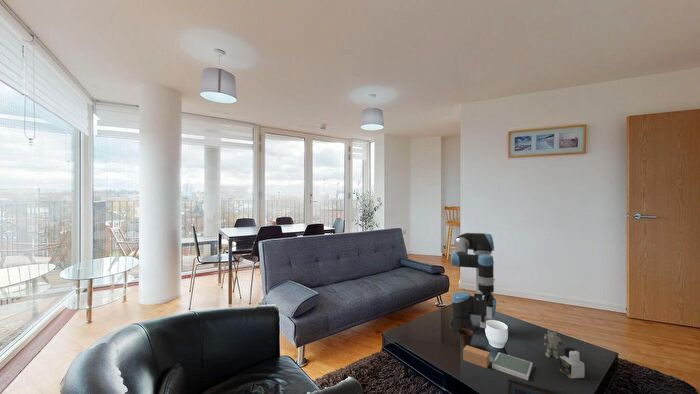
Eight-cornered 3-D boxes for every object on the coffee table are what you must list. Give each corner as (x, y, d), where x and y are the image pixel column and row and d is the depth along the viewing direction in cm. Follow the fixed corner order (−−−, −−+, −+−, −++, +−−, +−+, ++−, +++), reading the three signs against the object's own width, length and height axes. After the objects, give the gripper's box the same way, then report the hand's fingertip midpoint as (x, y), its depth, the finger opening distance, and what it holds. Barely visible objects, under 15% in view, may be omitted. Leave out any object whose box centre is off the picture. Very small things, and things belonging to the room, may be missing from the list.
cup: (475, 343, 173) (474, 327, 172) (474, 352, 165) (473, 336, 163) (459, 340, 177) (458, 325, 175) (458, 350, 168) (457, 334, 167)
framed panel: (492, 368, 150) (491, 363, 149) (498, 355, 160) (498, 351, 160) (528, 380, 139) (528, 375, 139) (532, 366, 150) (532, 362, 150)
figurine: (564, 358, 156) (564, 331, 156) (556, 362, 153) (555, 334, 153) (548, 351, 164) (548, 325, 163) (540, 355, 160) (540, 328, 160)
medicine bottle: (559, 369, 147) (559, 346, 147) (572, 368, 148) (572, 345, 147) (571, 378, 140) (571, 354, 140) (584, 377, 140) (584, 353, 140)
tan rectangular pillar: (463, 360, 157) (463, 349, 157) (466, 355, 161) (466, 345, 161) (486, 368, 149) (486, 357, 149) (489, 363, 154) (489, 352, 154)
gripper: (488, 291, 144) (488, 333, 145) (498, 279, 164) (498, 316, 164) (472, 288, 149) (472, 329, 149) (484, 277, 169) (484, 313, 169)
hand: (486, 323), depth 157 cm, fingers open, 13 cm apart
